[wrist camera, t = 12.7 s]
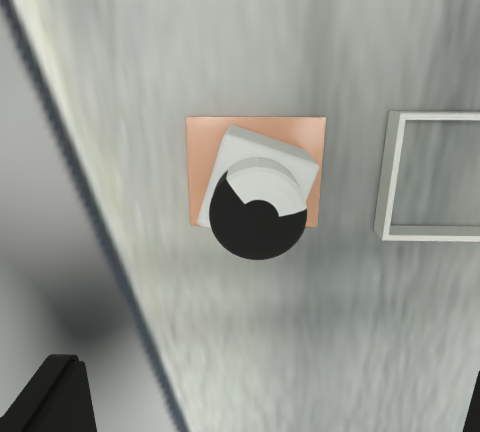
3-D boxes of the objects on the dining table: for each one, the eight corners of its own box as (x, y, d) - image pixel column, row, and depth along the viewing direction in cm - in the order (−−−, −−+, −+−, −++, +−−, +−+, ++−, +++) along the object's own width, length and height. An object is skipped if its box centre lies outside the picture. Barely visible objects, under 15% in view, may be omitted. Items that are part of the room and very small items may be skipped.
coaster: (324, 117, 32) (325, 117, 31) (316, 224, 35) (317, 226, 35) (186, 116, 32) (185, 116, 32) (191, 223, 35) (190, 225, 35)
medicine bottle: (278, 221, 35) (292, 286, 23) (205, 198, 34) (184, 253, 23) (306, 149, 32) (337, 183, 21) (229, 122, 32) (218, 142, 20)
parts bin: (518, 111, 31) (540, 113, 29) (489, 231, 35) (506, 241, 33) (389, 111, 32) (400, 113, 29) (373, 230, 35) (382, 240, 33)
